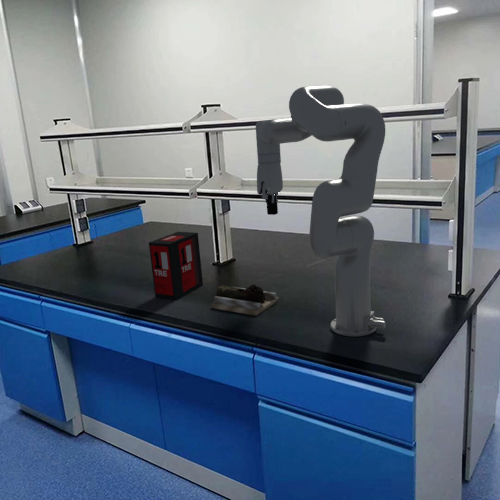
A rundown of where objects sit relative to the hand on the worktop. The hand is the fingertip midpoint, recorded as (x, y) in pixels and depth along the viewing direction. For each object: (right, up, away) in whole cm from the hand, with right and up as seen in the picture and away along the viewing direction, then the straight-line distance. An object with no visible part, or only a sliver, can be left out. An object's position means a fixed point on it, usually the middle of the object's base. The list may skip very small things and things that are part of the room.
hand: (272, 214), depth 170 cm
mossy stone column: (-10, -29, -6) cm, 31 cm away
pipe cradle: (-9, -30, -5) cm, 32 cm away
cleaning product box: (-33, -27, +12) cm, 44 cm away
